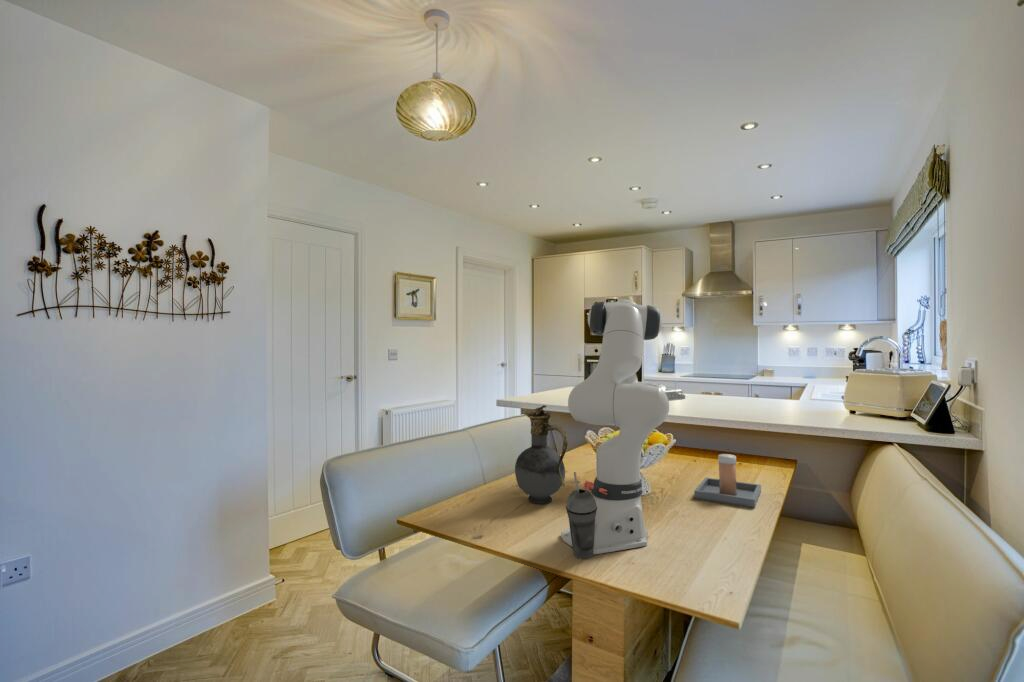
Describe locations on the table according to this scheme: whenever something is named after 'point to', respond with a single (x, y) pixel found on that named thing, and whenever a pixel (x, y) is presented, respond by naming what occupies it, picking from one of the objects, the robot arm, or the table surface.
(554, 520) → the table surface
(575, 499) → the beverage cup
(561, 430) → the pitcher
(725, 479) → the shaker
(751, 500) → the tray
